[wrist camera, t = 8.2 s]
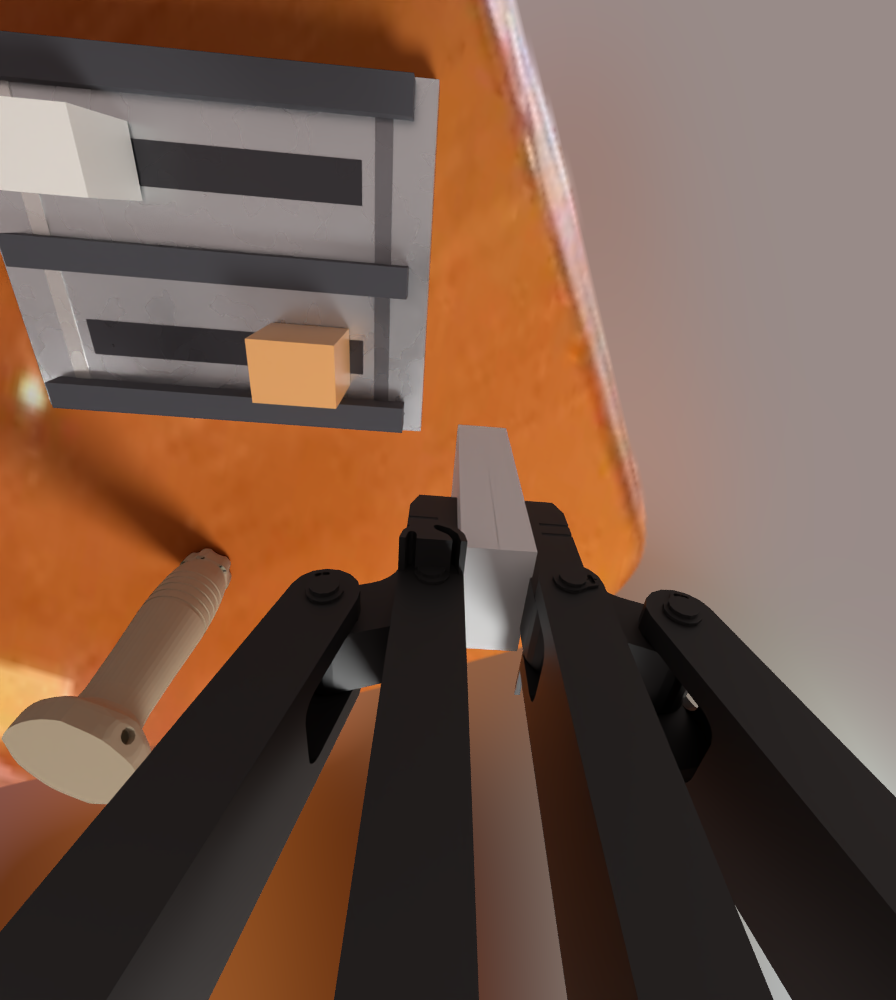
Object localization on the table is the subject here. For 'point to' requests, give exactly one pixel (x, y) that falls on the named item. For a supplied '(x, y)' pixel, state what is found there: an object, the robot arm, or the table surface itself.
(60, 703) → the handle
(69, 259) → the slotted rail tray
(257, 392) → the toggle
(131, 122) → the panel
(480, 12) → the table surface
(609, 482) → the table surface
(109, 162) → the toggle
